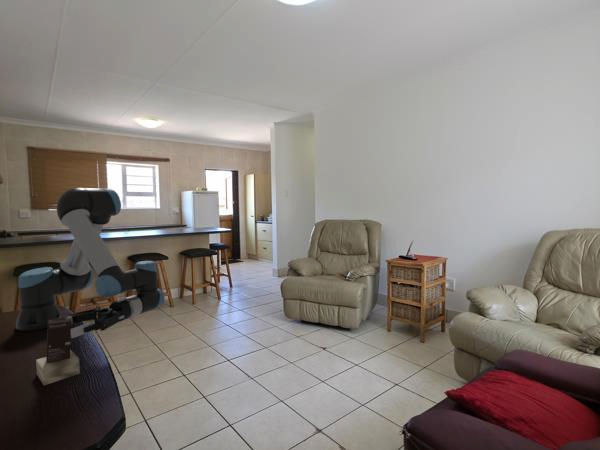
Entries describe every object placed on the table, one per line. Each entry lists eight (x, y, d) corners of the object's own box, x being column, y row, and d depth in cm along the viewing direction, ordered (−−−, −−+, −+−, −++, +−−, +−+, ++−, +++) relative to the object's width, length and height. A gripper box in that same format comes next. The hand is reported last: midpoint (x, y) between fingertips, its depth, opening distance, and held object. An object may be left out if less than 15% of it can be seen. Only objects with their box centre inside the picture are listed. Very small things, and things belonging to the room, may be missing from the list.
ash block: (71, 364, 110) (70, 349, 109) (79, 374, 104) (79, 358, 103) (37, 375, 103) (36, 359, 103) (44, 386, 97) (42, 370, 97)
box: (46, 363, 99) (47, 324, 99) (46, 357, 103) (47, 319, 102) (71, 359, 103) (72, 320, 102) (70, 353, 107) (71, 316, 106)
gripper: (147, 323, 118) (84, 349, 98) (105, 313, 128) (40, 335, 108) (147, 303, 117) (83, 324, 98) (104, 294, 127) (38, 312, 107)
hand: (60, 330), depth 103 cm, fingers open, 10 cm apart
